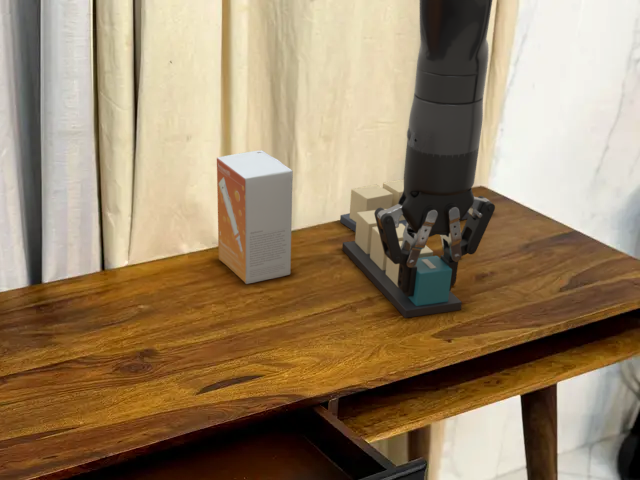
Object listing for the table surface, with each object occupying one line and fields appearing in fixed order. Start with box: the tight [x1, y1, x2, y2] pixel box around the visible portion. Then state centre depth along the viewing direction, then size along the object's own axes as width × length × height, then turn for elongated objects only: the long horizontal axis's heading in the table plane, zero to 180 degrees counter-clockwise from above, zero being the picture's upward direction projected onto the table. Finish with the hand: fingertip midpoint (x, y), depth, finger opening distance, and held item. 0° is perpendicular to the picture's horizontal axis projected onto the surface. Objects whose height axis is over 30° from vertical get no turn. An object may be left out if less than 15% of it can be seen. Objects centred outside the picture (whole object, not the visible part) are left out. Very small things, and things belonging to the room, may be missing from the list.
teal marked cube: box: [408, 255, 452, 306], centre depth 113 cm, size 4×4×4 cm
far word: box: [339, 178, 469, 233], centre depth 134 cm, size 20×7×5 cm, turn 117°
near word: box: [341, 209, 463, 319], centre depth 119 cm, size 20×7×5 cm, turn 17°
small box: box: [216, 149, 294, 285], centre depth 119 cm, size 8×6×13 cm
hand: (425, 290), depth 114 cm, fingers closed on teal marked cube, 4 cm apart
